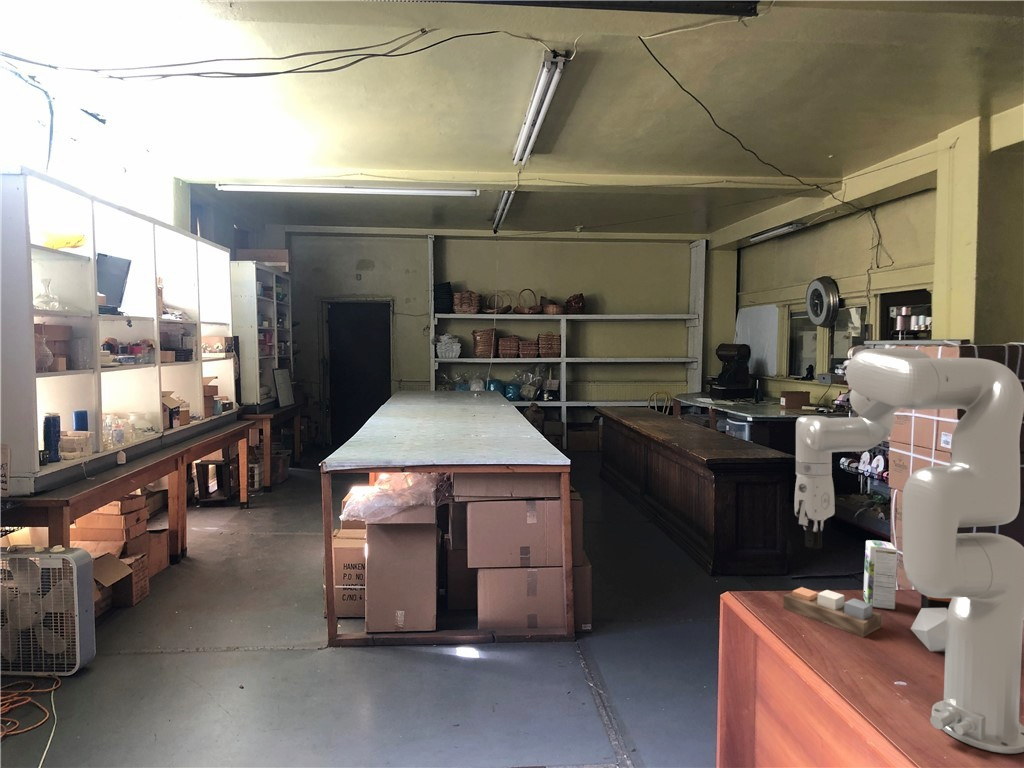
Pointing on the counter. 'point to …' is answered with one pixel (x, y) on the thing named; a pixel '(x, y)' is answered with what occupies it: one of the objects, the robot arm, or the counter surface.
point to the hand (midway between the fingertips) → (813, 546)
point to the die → (931, 628)
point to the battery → (934, 602)
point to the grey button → (858, 609)
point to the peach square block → (805, 594)
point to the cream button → (830, 599)
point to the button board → (832, 616)
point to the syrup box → (880, 574)
